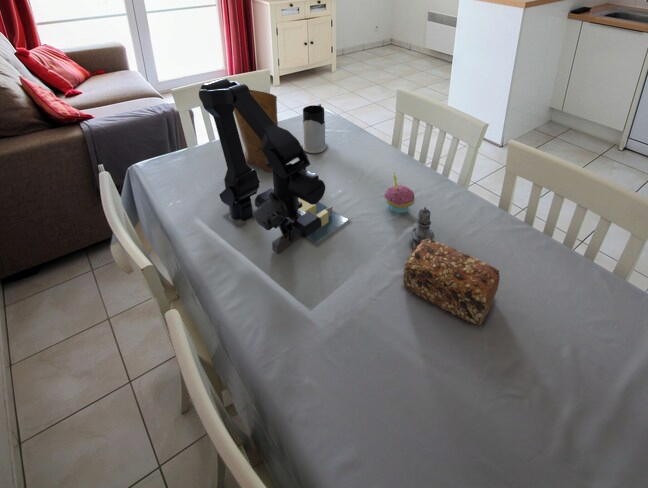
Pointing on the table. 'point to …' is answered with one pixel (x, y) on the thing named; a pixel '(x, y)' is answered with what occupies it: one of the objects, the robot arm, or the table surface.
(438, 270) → the bread
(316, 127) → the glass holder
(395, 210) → the cupcake
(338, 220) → the butter dish
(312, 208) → the butter block
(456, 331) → the table surface
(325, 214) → the butter slice
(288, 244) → the knife
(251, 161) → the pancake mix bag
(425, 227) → the grey figurine
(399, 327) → the table surface
